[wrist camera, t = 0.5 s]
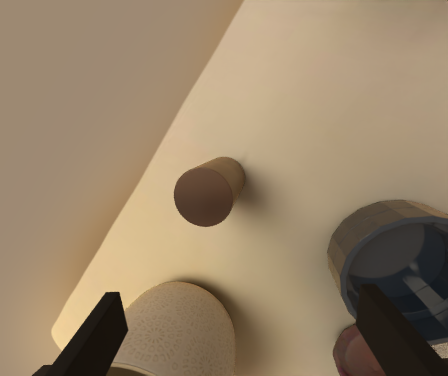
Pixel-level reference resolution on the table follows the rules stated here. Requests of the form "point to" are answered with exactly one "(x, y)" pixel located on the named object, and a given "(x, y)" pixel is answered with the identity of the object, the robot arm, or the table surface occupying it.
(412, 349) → the robot arm
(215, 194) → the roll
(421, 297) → the bowl
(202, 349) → the planter
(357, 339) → the pink vase
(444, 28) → the table surface
